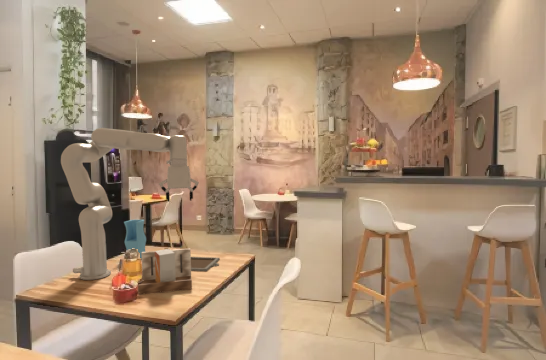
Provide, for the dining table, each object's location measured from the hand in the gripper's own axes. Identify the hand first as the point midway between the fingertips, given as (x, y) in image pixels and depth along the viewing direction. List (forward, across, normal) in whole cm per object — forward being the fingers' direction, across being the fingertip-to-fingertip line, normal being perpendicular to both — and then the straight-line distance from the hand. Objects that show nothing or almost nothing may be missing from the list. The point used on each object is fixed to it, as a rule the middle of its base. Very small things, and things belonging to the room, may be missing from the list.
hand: (179, 200), depth 155 cm
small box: (+32, -6, -15) cm, 36 cm away
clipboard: (+34, +4, +13) cm, 37 cm away
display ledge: (+33, -6, -15) cm, 37 cm away
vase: (+34, -24, +34) cm, 53 cm away
